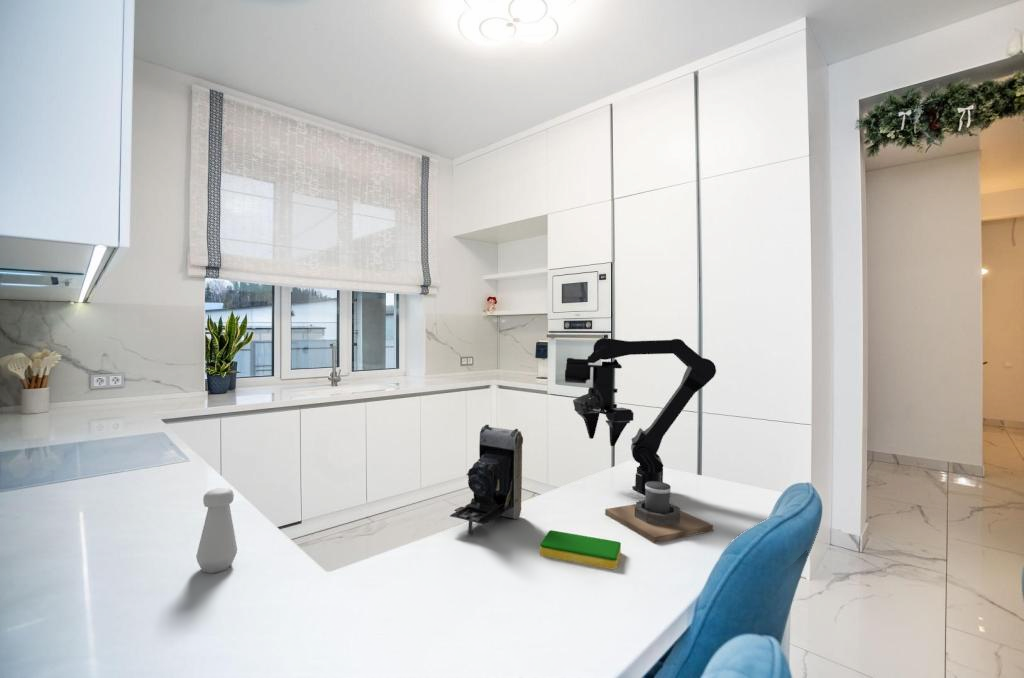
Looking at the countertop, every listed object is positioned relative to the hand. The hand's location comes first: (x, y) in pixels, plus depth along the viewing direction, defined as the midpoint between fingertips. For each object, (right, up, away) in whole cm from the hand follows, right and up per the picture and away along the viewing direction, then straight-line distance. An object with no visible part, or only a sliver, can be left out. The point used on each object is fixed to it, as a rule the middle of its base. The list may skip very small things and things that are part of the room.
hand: (601, 442), depth 126 cm
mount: (+8, -12, -23) cm, 28 cm away
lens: (+8, -11, -23) cm, 27 cm away
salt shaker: (-74, -11, -48) cm, 88 cm away
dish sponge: (-11, -13, -39) cm, 43 cm away
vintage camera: (-29, -12, -27) cm, 41 cm away
